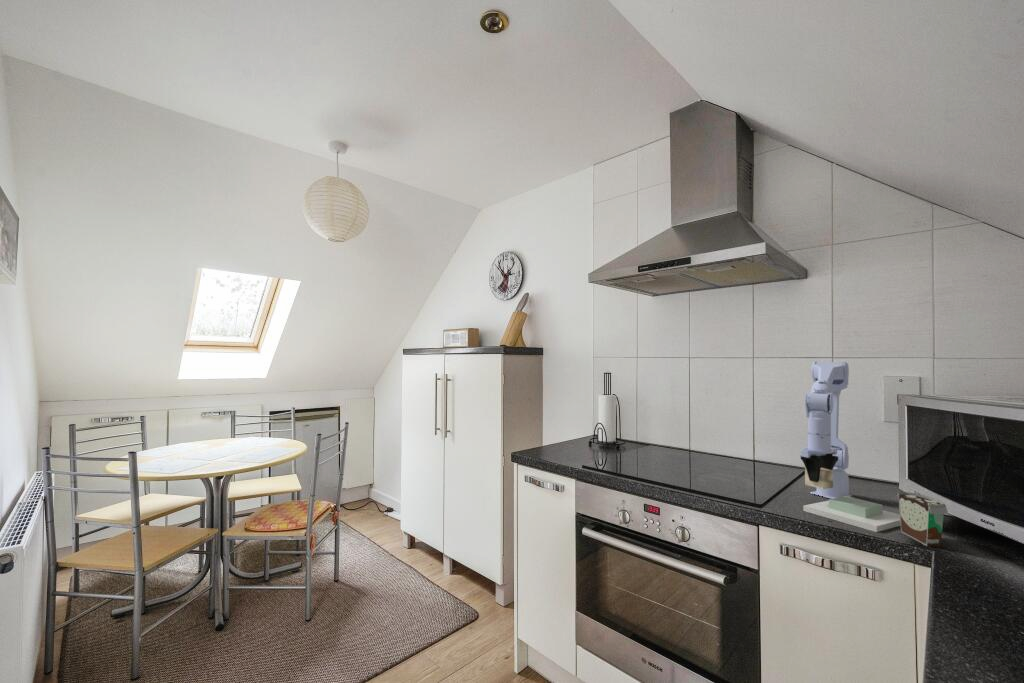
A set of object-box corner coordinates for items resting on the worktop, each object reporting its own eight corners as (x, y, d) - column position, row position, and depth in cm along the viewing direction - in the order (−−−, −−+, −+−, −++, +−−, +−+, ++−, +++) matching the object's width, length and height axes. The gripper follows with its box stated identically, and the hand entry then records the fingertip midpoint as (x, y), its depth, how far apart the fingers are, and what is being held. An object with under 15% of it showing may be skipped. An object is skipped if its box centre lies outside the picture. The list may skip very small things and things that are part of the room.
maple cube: (815, 483, 135) (814, 466, 136) (833, 487, 131) (832, 470, 131) (805, 484, 133) (804, 467, 133) (823, 489, 129) (822, 471, 129)
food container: (962, 551, 103) (961, 507, 103) (931, 548, 104) (930, 504, 104) (925, 532, 115) (924, 492, 115) (897, 529, 116) (896, 490, 117)
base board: (838, 503, 138) (837, 490, 138) (911, 522, 122) (910, 507, 122) (803, 510, 130) (803, 496, 130) (876, 532, 114) (876, 516, 114)
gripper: (819, 431, 139) (819, 475, 139) (790, 432, 133) (790, 479, 132) (844, 434, 133) (845, 480, 132) (815, 436, 127) (815, 485, 126)
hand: (819, 480), depth 132 cm, fingers closed on maple cube, 5 cm apart
